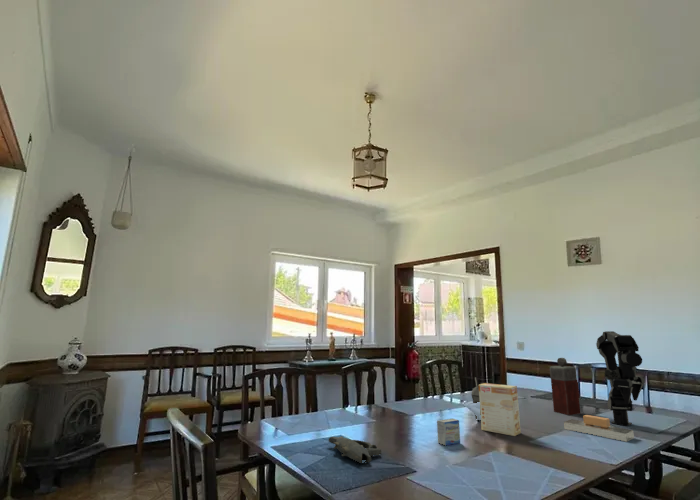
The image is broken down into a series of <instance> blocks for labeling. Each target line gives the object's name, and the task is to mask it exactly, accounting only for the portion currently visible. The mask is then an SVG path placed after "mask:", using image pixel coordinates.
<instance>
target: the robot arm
mask: <svg viewBox="0 0 700 500" xmlns="http://www.w3.org/2000/svg"><path fill="white" fill-rule="evenodd" d="M595 345H596V349H597V350H598V352H599V355H600V356H602V357H603V358H604V362H605V366H606V369H605V370H604V377H605V378H606V379H607V380H608V381H609V384H610V388H611V389H610V391H609V393H608V399H607V403H606V404H607V408H608V409H609V410H610V411H612V416H613V420H612V421H610V424H614V425H618V426H619V425H620V426H625V427H628V426H630V425H632V423H633V422H629V415H628V412H633V401H637V400H638V399H639V395H640V393H641V390H642V388H643V386H644V384H645V378H644V377H643V376H642V375H636V370H637V367H640V366H641V365H642V363H643V358H642V356H641V354H640V353H637V352H639V345H638V343H637V341H636V340H635V338H634V337H633V335H630V334H620V333H617V332H616V331H611V330H609V331H608V330H607V331H606V330H604V331H602V334H601V335H600V336H598V338H597V340H596V343H595ZM616 355H617V361H618V363H617V361H616ZM631 397H632V398H633V400H632V398H631Z"/></svg>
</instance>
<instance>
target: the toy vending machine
mask: <svg viewBox="0 0 700 500" xmlns="http://www.w3.org/2000/svg"><path fill="white" fill-rule="evenodd" d="M556 363H557V365H552V366H549V374H550V375H549V376H550V382H551V383H550V385H551V395H552V406H553V412H554V413H557V414H560V415H561V414H562V415H565V416H566V415H567V416H573V415H581V413H582V412H581V406H580V399H581V397H580V384H579V381H578V378H577V369H576V367H574V366H570V365H569V366H567V363H568V362H567V359H566V358H565V357H558V358H557V360H556Z"/></svg>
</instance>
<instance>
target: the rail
mask: <svg viewBox="0 0 700 500" xmlns="http://www.w3.org/2000/svg"><path fill="white" fill-rule="evenodd" d="M563 428H564V430H568V431H572V432H576V431H577V433H581V432H582V433H583V434H586V433H588V434H587V435H591V434H593V436H596V435H597V437H601V436H602V437H601V438H607V439H612V440H615V439H616V441H620V440H621V442H626V443H628V442H629V441H632V440H633V439H635V434H634V430H632V429H627V428H621V427H617V426H613V425H610V426H609V428H608V429H605V428H601V426H596V425H593V426H589V425H586V424H585V423H584V420H579V419H569V420H566V421H563Z"/></svg>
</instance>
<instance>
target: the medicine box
mask: <svg viewBox="0 0 700 500" xmlns="http://www.w3.org/2000/svg"><path fill="white" fill-rule="evenodd" d="M436 423H437V425H436V427H437V443H438V444H439V443H440V444H439V445H442V444H443V445H442V446H444V445H445V446H444V447H447V446H446V445H448V446H452V445H451V444H453V445H457V443H458V444H460V443H461V432H460V431H461V430H460V429H461V427H460V420H458V419H456V418H447V419H439V420H437V421H436Z"/></svg>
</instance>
